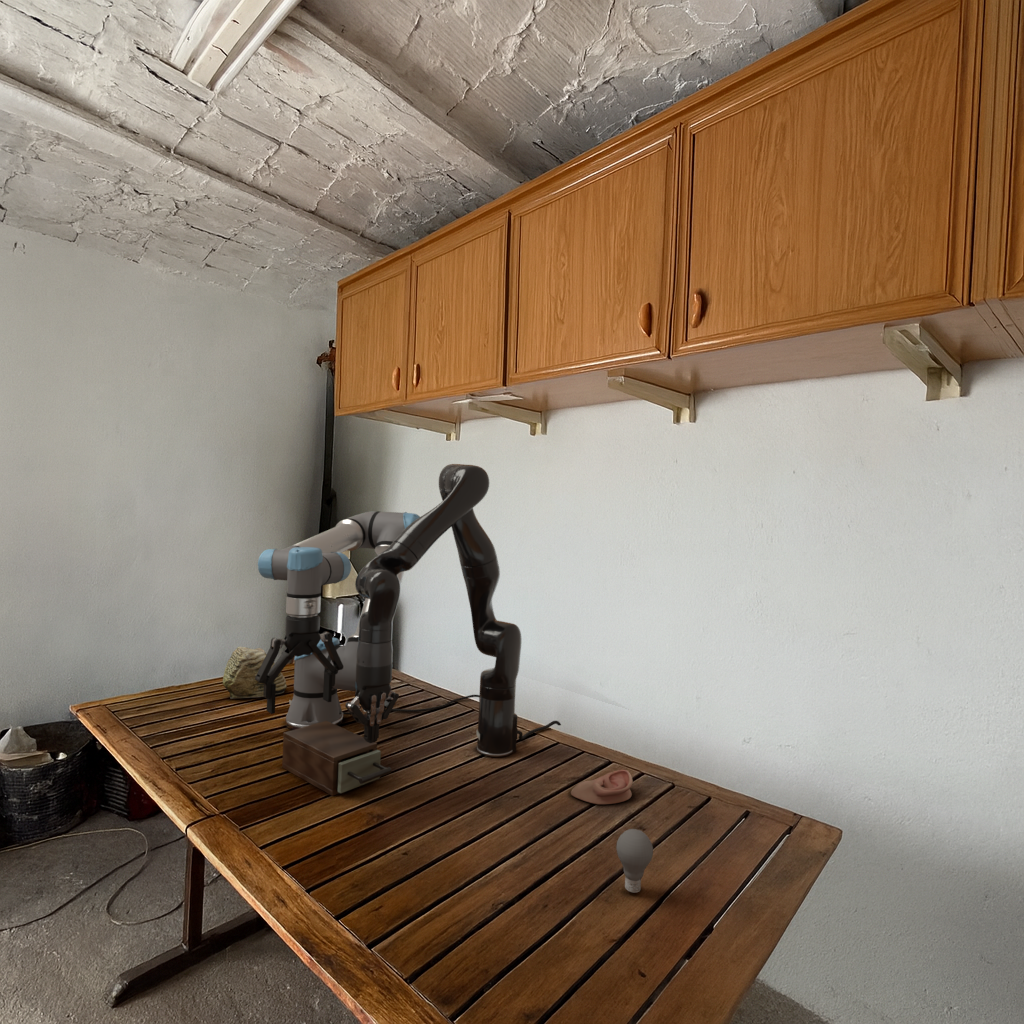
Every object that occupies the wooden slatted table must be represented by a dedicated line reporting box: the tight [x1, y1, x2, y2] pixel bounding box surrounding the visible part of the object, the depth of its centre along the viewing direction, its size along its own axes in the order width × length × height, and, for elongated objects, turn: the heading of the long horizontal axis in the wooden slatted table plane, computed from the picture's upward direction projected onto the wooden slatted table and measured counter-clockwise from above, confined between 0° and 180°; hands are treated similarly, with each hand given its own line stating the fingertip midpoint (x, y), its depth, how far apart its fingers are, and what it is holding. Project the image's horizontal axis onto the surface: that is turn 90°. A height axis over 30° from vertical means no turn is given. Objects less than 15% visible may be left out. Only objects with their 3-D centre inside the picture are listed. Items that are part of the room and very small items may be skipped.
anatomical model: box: [570, 769, 634, 805], centre depth 141 cm, size 13×4×12 cm
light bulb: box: [615, 828, 654, 894], centre depth 106 cm, size 6×6×10 cm
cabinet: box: [281, 721, 378, 797], centre depth 145 cm, size 20×12×8 cm, turn 50°
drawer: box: [337, 749, 392, 794], centre depth 142 cm, size 24×10×6 cm, turn 50°
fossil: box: [222, 646, 288, 699], centre depth 198 cm, size 9×18×15 cm, turn 132°
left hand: (299, 706), depth 146 cm, fingers open, 13 cm apart
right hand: (371, 741), depth 135 cm, fingers closed
